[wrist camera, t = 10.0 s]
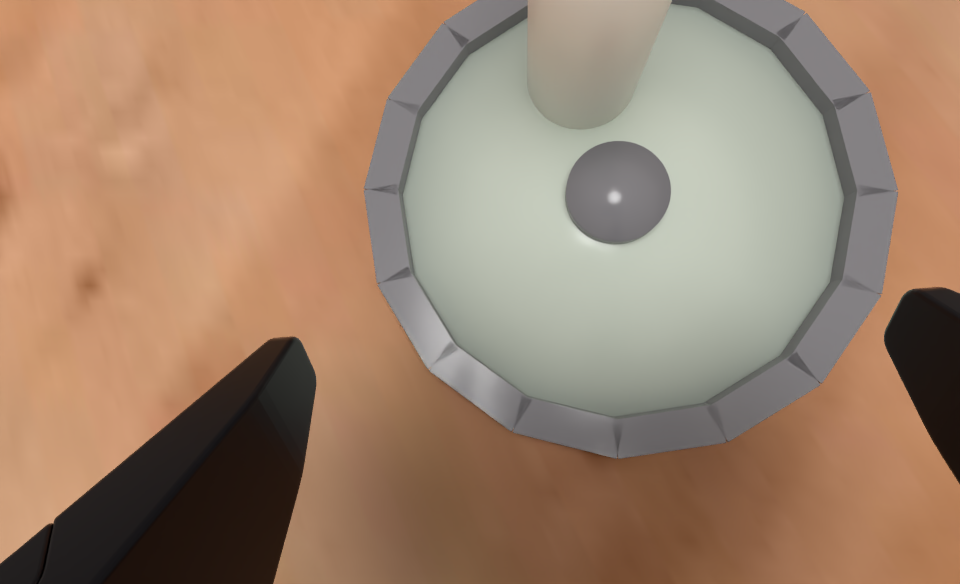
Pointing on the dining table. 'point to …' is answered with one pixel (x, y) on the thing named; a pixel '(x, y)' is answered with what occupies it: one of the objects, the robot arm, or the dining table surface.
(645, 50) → the candle
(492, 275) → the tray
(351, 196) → the dining table surface
